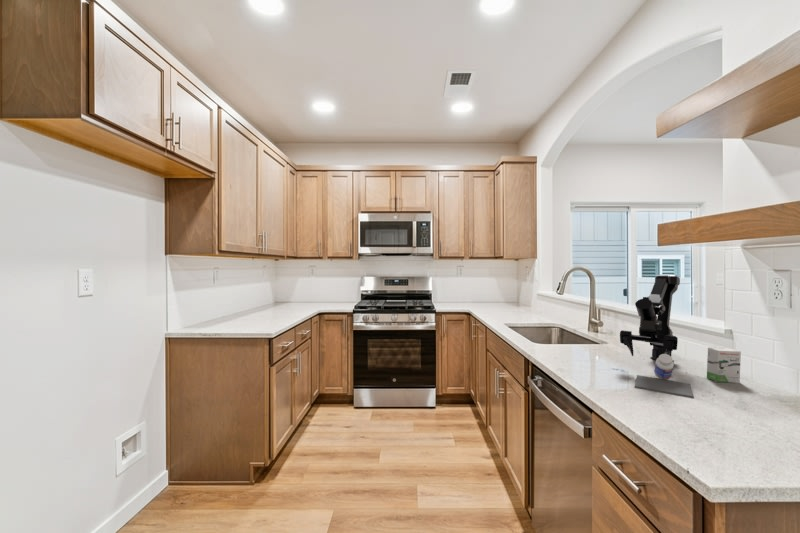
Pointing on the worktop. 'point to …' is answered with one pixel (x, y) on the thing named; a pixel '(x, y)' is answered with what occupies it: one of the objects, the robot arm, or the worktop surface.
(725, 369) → the ink box
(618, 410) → the worktop surface
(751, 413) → the worktop surface
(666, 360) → the pill bottle
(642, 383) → the rubber mat
